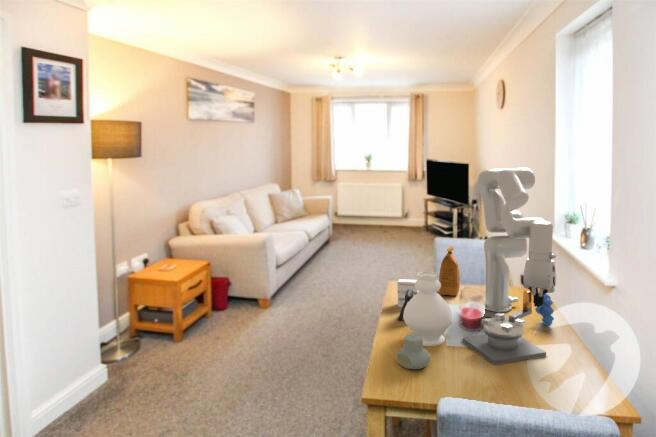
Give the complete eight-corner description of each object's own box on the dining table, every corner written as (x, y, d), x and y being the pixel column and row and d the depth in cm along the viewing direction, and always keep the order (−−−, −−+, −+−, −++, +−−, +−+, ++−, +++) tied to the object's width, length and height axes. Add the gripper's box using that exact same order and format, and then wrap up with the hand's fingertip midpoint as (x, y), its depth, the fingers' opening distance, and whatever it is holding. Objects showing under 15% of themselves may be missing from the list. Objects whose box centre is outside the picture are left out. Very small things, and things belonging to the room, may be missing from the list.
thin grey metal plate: (510, 334, 187) (510, 319, 186) (546, 356, 168) (546, 339, 167) (462, 341, 182) (462, 325, 181) (493, 364, 163) (494, 347, 162)
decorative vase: (398, 345, 180) (398, 279, 176) (409, 327, 196) (408, 266, 192) (448, 352, 174) (449, 283, 170) (455, 332, 190) (455, 269, 186)
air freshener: (434, 368, 162) (434, 339, 161) (416, 375, 158) (416, 345, 156) (410, 356, 171) (410, 329, 170) (392, 363, 166) (392, 335, 165)
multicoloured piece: (508, 342, 165) (509, 309, 163) (476, 331, 175) (476, 300, 173) (545, 325, 179) (546, 294, 177) (513, 315, 189) (514, 286, 187)
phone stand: (421, 317, 207) (421, 289, 205) (419, 322, 202) (419, 294, 200) (399, 315, 210) (399, 288, 208) (397, 321, 204) (397, 293, 202)
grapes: (531, 318, 202) (532, 290, 200) (548, 319, 201) (549, 290, 199) (538, 329, 191) (539, 299, 189) (556, 330, 190) (558, 300, 188)
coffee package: (462, 290, 241) (462, 245, 238) (458, 297, 230) (458, 251, 226) (441, 288, 245) (441, 244, 241) (436, 295, 234) (436, 250, 230)
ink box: (418, 304, 223) (418, 279, 221) (417, 308, 218) (417, 282, 216) (398, 303, 225) (398, 278, 223) (397, 307, 220) (397, 281, 218)
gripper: (565, 257, 173) (563, 307, 176) (523, 251, 183) (522, 299, 186) (558, 261, 168) (555, 313, 171) (514, 255, 178) (513, 304, 181)
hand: (538, 305), depth 178 cm, fingers closed
